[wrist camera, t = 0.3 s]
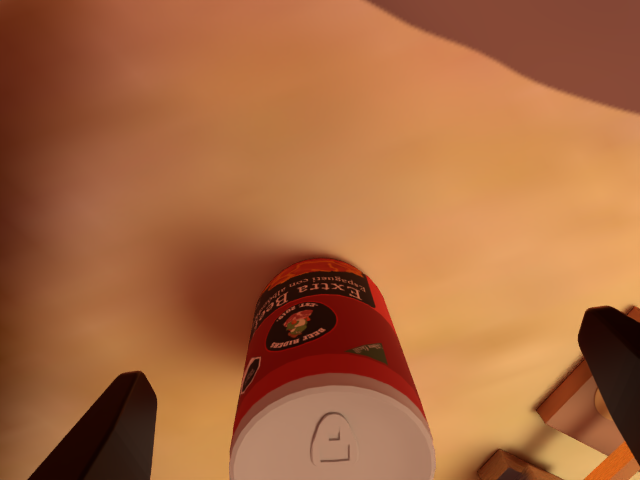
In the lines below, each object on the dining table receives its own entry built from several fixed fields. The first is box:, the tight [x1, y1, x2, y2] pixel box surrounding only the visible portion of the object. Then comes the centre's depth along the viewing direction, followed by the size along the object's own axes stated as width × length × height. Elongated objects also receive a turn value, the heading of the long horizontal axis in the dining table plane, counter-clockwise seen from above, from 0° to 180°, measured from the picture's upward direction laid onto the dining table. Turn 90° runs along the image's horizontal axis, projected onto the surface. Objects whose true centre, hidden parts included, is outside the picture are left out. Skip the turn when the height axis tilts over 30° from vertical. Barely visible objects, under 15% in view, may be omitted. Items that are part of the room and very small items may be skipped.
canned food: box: [229, 258, 436, 480], centre depth 22 cm, size 8×8×11 cm
